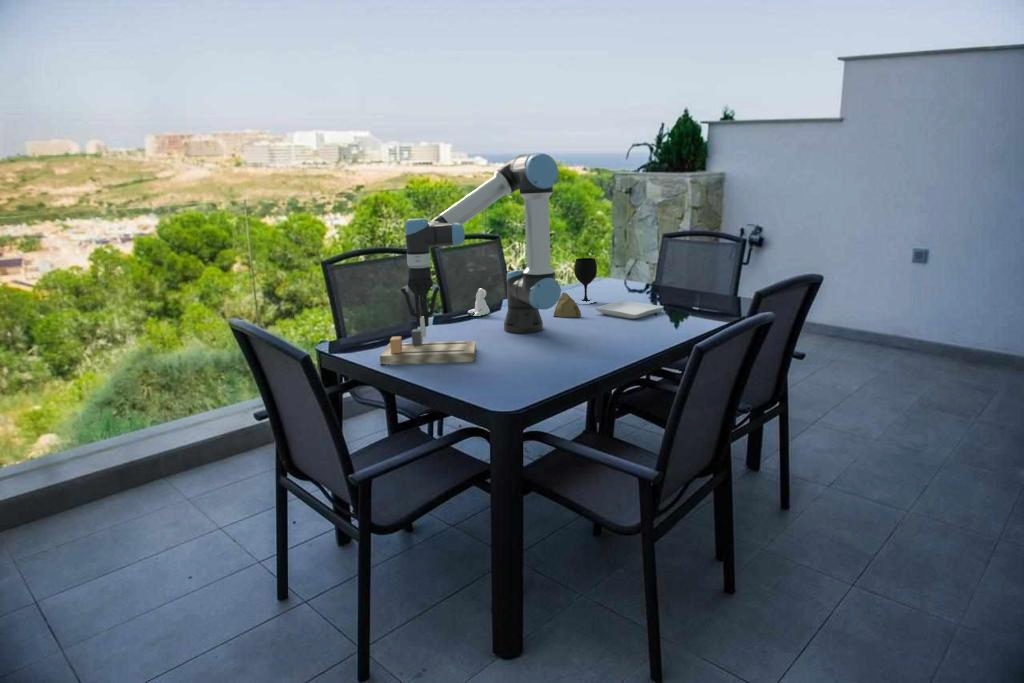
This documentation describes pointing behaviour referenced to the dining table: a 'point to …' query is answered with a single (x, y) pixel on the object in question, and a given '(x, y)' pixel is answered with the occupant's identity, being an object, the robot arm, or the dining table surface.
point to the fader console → (431, 353)
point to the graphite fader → (416, 337)
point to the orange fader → (396, 344)
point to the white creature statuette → (480, 304)
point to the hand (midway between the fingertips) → (423, 335)
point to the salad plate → (628, 309)
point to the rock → (567, 307)
